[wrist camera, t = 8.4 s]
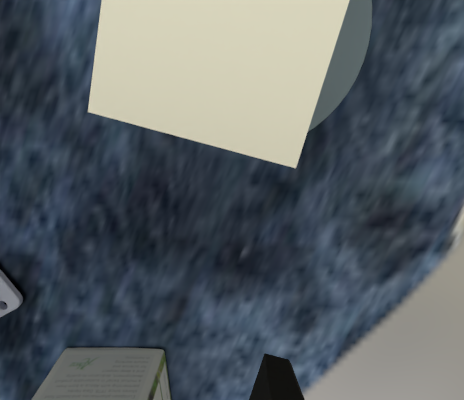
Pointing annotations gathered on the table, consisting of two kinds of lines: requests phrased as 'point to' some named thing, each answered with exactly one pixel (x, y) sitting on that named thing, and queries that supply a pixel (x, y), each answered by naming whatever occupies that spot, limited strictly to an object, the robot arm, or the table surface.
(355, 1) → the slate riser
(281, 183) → the table surface
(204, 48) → the cream block
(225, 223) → the table surface
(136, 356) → the syrup box
